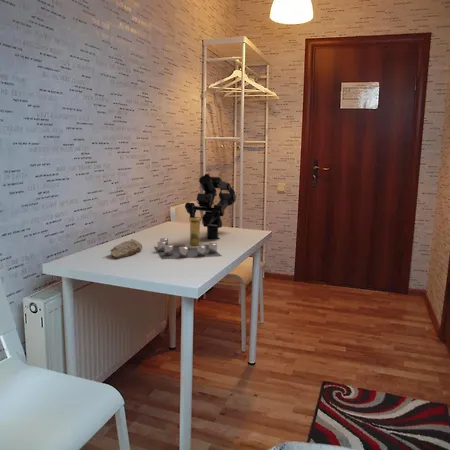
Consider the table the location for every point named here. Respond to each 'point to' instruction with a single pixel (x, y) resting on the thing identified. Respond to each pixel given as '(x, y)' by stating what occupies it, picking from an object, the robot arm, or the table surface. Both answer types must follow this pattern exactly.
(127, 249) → the stone
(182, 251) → the spacers
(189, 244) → the pad
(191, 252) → the mat
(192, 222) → the brass sleeve
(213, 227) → the robot arm
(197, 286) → the table surface
